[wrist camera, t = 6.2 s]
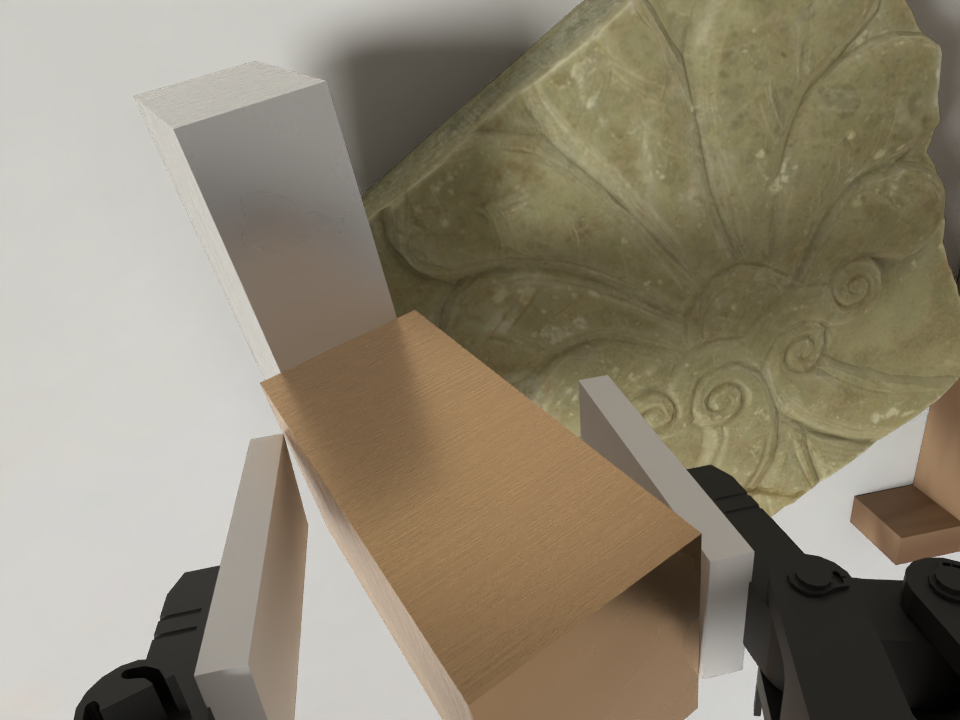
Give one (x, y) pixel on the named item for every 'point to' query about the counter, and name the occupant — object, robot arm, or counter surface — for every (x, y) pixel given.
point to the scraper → (428, 437)
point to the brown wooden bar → (921, 494)
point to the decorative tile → (697, 228)
